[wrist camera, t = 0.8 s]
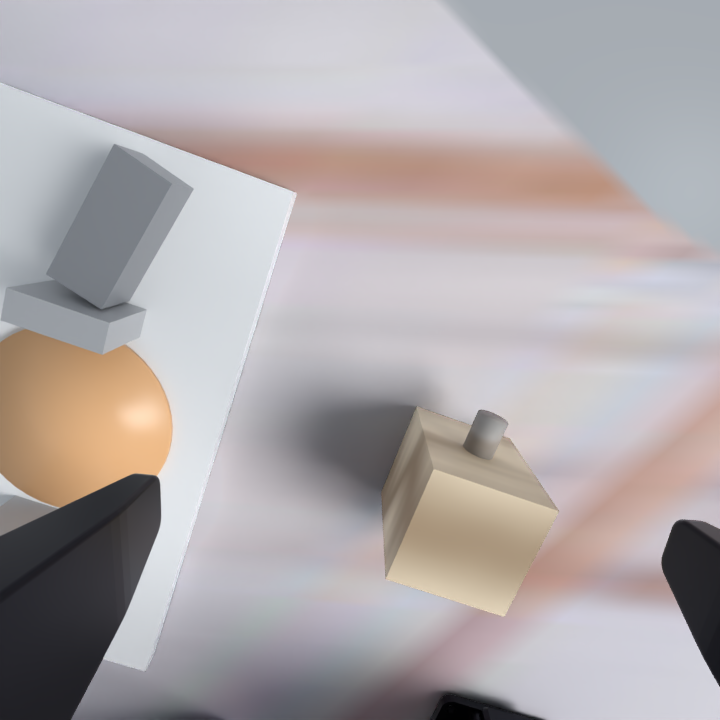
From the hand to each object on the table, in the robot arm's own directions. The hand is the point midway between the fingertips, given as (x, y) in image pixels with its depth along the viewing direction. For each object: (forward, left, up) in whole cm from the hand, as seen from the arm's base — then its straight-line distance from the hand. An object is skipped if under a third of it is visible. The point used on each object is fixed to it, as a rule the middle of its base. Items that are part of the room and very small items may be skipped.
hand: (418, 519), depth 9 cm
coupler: (-4, -4, -13) cm, 15 cm away
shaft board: (-7, +12, -13) cm, 19 cm away
